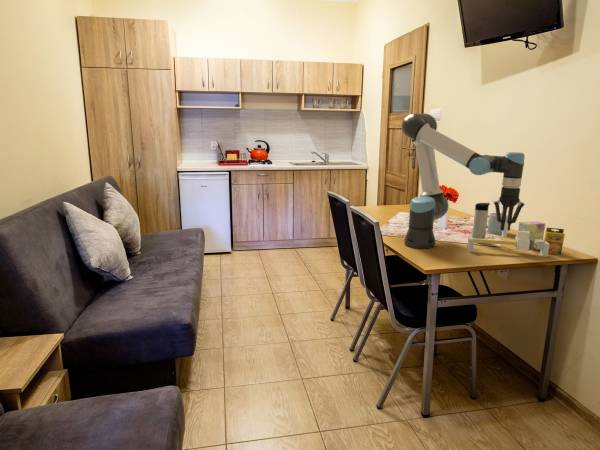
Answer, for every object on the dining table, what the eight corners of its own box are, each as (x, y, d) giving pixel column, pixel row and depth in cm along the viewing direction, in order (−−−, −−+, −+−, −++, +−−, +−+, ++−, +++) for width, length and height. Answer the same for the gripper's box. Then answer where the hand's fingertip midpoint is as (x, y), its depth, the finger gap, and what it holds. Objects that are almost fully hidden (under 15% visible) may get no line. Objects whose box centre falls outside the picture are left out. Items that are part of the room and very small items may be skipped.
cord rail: (468, 251, 195) (469, 237, 193) (467, 249, 199) (468, 235, 197) (547, 256, 188) (549, 241, 186) (544, 253, 192) (546, 239, 190)
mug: (505, 231, 232) (507, 213, 229) (505, 235, 224) (507, 217, 221) (479, 228, 238) (481, 211, 235) (477, 232, 230) (479, 214, 227)
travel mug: (486, 243, 209) (491, 204, 204) (472, 242, 210) (477, 203, 205) (483, 239, 215) (488, 202, 210) (470, 239, 216) (474, 201, 211)
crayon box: (543, 252, 194) (547, 228, 191) (542, 250, 196) (545, 227, 193) (561, 254, 191) (565, 230, 188) (560, 252, 194) (564, 228, 191)
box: (533, 243, 208) (536, 220, 206) (542, 246, 203) (545, 223, 200) (515, 244, 206) (518, 221, 203) (524, 248, 201) (527, 224, 198)
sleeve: (516, 249, 190) (519, 232, 188) (514, 246, 194) (516, 230, 192) (528, 250, 189) (531, 233, 187) (525, 247, 193) (527, 230, 191)
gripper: (497, 187, 184) (490, 238, 190) (529, 188, 181) (521, 240, 187) (493, 185, 191) (487, 233, 197) (524, 186, 189) (516, 235, 194)
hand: (503, 236), depth 192 cm, fingers closed
